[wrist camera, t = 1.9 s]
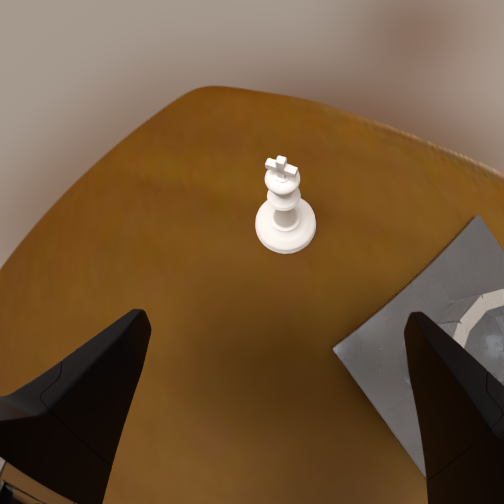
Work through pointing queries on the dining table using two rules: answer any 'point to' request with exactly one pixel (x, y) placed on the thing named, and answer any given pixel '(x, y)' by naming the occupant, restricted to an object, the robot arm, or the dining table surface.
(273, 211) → the chess piece
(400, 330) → the duct collar
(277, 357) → the dining table surface
